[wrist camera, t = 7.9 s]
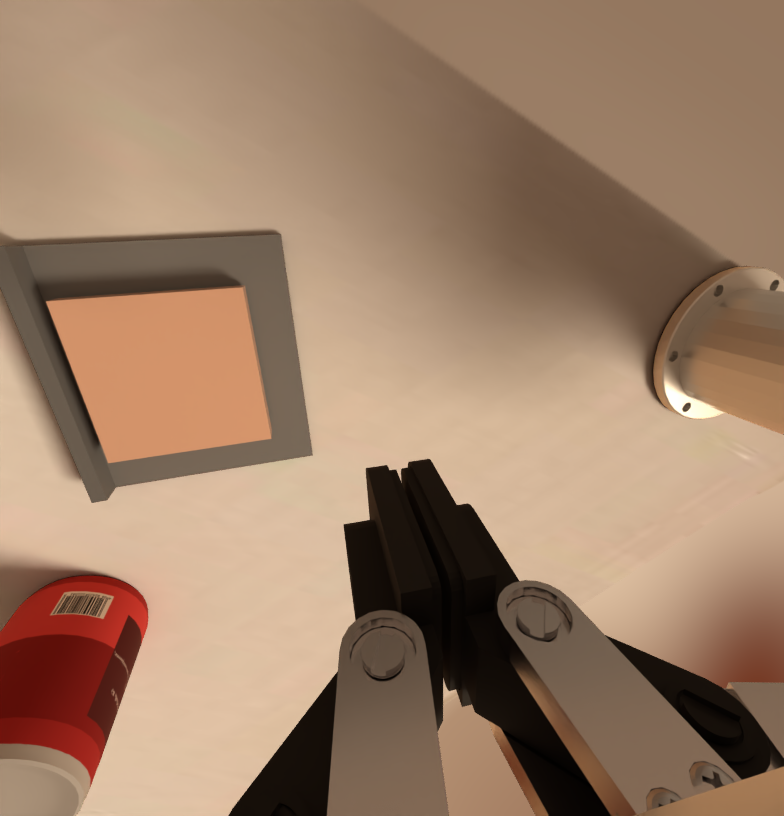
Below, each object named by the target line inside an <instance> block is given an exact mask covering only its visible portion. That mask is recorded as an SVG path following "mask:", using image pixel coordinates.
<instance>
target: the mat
mask: <svg viewBox="0 0 784 816" xmlns="http://www.w3.org/2000/svg"><path fill="white" fill-rule="evenodd" d="M239 285H245V288H246V294H247V299H248V304H249V310H250V315H251V321H252V326H253V331H254V337H255V342H256V347H257V353H258V358H259V363H260V369H261V374H262V379H263V385H264V390H265V395H266V401H267V406H268V411H269V417H270V422H271V427H272V437H271V439H266V440H260V441H253V442H246V443H240V444H233V445H226V446H220V447H213V448H206V449H200V450H193V451H187V452H180V453H173V454H167V455H160V456H153V457H147V458H140V459H133V460H127V461H120V462H113V463H108V461H107V459H106V456H105V453H104V451H103V448H102V446H101V443H100V440H99V438H98V435H97V433H96V430H95V428H94V425H93V422H92V420H91V417H90V415H89V412H88V409H87V407H86V404H85V402H84V399H83V396H82V394H81V391H80V389H79V386H78V384H77V381H76V378H75V376H74V373H73V371H72V368H71V365H70V363H69V360H68V358H67V355H66V352H65V350H64V347H63V345H62V342H61V340H60V337H59V334H58V332H57V329H56V327H55V324H54V321H53V319H52V316H51V314H50V311H49V308H48V306H47V303H46V301H49V300H54V299H58V298H68V297H82V296H96V295H111V294H125V293H139V292H153V291H168V290H182V289H196V288H211V287H225V286H239ZM0 288H1V290H2V293H3V295H4V297H5V300H6V302H7V304H8V307H9V309H10V312H11V314H12V316H13V319H14V321H15V323H16V326H17V328H18V330H19V333H20V335H21V337H22V340H23V342H24V344H25V347H26V349H27V351H28V354H29V356H30V359H31V361H32V363H33V366H34V368H35V370H36V373H37V375H38V377H39V380H40V382H41V384H42V387H43V389H44V391H45V394H46V396H47V398H48V401H49V403H50V406H51V408H52V410H53V413H54V415H55V417H56V420H57V422H58V424H59V427H60V429H61V431H62V434H63V436H64V438H65V441H66V443H67V446H68V448H69V450H70V453H71V455H72V457H73V460H74V462H75V464H76V467H77V469H78V471H79V474H80V476H81V478H82V481H83V483H84V485H85V488H86V490H87V493H88V495H89V497H90V500H91V502H92V503H94V502H100V501H106V500H108V498H109V497H110V495H111V494H112V492H113V491H114V489H115V488H116V487H120V486H127V485H133V484H139V483H145V482H151V481H157V480H164V479H170V478H176V477H182V476H188V475H194V474H201V473H207V472H213V471H219V470H225V469H231V468H238V467H244V466H250V465H256V464H262V463H268V462H275V461H281V460H287V459H293V458H299V457H305V456H311V455H313V454H312V447H311V440H310V433H309V426H308V419H307V413H306V406H305V399H304V392H303V385H302V378H301V371H300V364H299V357H298V351H297V344H296V337H295V330H294V323H293V316H292V309H291V302H290V295H289V289H288V282H287V275H286V268H285V261H284V254H283V247H282V240H281V234H274V235H252V236H230V237H207V238H185V239H163V240H141V241H118V242H96V243H74V244H51V245H29V246H0Z"/></svg>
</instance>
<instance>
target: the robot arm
mask: <svg viewBox="0 0 784 816" xmlns="http://www.w3.org/2000/svg"><path fill="white" fill-rule="evenodd" d="M653 376H654V386H655V389H656V392H657V395H658V397H659V399H660V400H661V402H662V404H663V405H664V406H666V407H667V408H668V409H669V410H670V411H672V412H675V413H677V414H679V415H681V416H684V417H687V418H690V419H705V418H711V417H714V416H717V415H719V414H722V413H728V414H730V415H733V416H736V417H738V418H741V419H743V420H746V421H749V422H751V423H754V424H757V425H759V426H762V427H764V428H767V429H770V430H772V431H775V432H778V433H780V434H783V435H784V280H783V279H782V277H780V276H779V275H778V274H777V273H775V272H774V271H772V270H769V269H766V268H764V267H750V266H744V267H734V268H731V269H728V270H725V271H722V272H720V273H718V274H716V275H714V276H712V277H710V278H709V279H707V280H706V281H705V282H703V283H702V284H701V285H699V286H698V287H697V288H696V289H695V290H694V291H693V292H692V293H691V294H690V295H689V296H688V297H687V298H686V299H685V300H684V301H683V302H682V303H681V305H680V306H679V307H678V308H677V310H676V311H675V312H674V314H673V315H672V317H671V319H670V320H669V322H668V324H667V326H666V327H665V329H664V331H663V334H662V336H661V339H660V341H659V343H658V347H657V351H656V355H655V359H654V369H653ZM366 479H367V491H368V503H369V514H370V520H367V521H362V522H356V523H350V524H344V532H345V541H346V549H347V557H348V565H349V573H350V581H351V589H352V596H353V604H354V611H355V619H356V621H355V622H354V623H353V624H352V625H351V626H350V627H349V628H348V630H347V631H346V633H345V635H344V636H343V638H342V642H341V647H340V651H339V664H338V672H337V673H336V674H335V676H334V677H333V678H332V680H331V681H330V682H329V683H328V685H327V686H326V687H325V689H324V690H323V691H322V693H321V694H320V695H319V697H318V698H317V699H316V700H315V702H314V703H313V704H312V706H311V707H310V708H309V710H308V711H307V712H306V714H305V715H304V716H303V717H302V719H301V720H300V721H299V723H298V724H297V725H296V727H295V728H294V729H293V730H292V732H291V733H290V734H289V736H288V737H287V738H286V740H285V741H284V742H283V744H282V745H281V746H280V747H279V749H278V750H277V751H276V753H275V754H274V755H273V757H272V758H271V759H270V761H269V762H268V763H267V764H266V766H265V767H264V768H263V770H262V771H261V772H260V774H259V775H258V776H257V778H256V779H255V780H254V781H253V783H252V784H251V785H250V787H249V788H248V789H247V791H246V792H245V793H244V795H243V796H242V797H241V798H240V800H239V801H238V802H237V804H236V805H235V806H234V808H233V809H232V811H231V812H230V814H229V816H449V812H448V804H447V797H446V790H445V783H444V776H443V768H442V760H441V753H440V746H439V738H438V730H439V728H440V725H441V723H442V721H443V678H444V681H445V684H446V687H447V689H448V690H449V691H451V690H455V689H456V690H457V693H458V696H459V699H460V702H461V705H462V707H463V706H467V705H471V704H472V705H473V708H474V710H475V712H476V713H477V714H479V715H480V716H482V717H484V718H485V719H487V720H488V721H489V724H490V727H491V730H492V732H493V735H494V737H495V739H496V741H497V743H498V745H499V747H500V749H501V751H502V753H503V755H504V756H505V758H506V760H507V762H508V764H509V766H510V768H511V770H512V772H513V774H514V775H515V777H516V779H517V781H518V783H519V785H520V787H521V789H522V791H523V793H524V795H525V796H526V798H527V800H528V802H529V804H530V806H531V808H532V810H533V812H534V814H535V816H784V683H752V682H751V683H750V682H729V683H728V686H727V688H726V689H724V688H722V687H720V686H718V685H716V684H714V683H712V682H711V681H709V680H707V679H705V678H703V677H700V676H698V675H696V674H693V673H691V672H689V671H687V670H684V669H682V668H680V667H677V666H675V665H672V664H670V663H668V662H666V661H664V660H661V659H659V658H657V657H654V656H652V655H650V654H647V653H645V652H643V651H640V650H638V649H636V648H633V647H631V646H629V645H626V644H624V643H622V642H620V641H617V640H615V639H612V638H610V637H608V636H606V635H604V634H603V633H602V632H601V631H600V630H599V629H598V628H597V627H596V625H595V624H594V623H593V622H592V621H591V620H590V619H589V618H588V617H587V616H586V615H585V614H584V613H583V612H582V611H581V610H580V609H579V607H578V606H577V605H576V604H575V603H574V602H573V601H572V600H571V599H570V598H569V597H567V596H566V595H565V594H564V593H563V592H561V591H560V590H558V589H556V588H554V587H552V586H551V585H549V584H545V583H542V582H538V581H528V580H524V581H519V580H518V578H517V577H516V575H515V573H514V572H513V570H512V569H511V567H510V565H509V564H508V562H507V561H506V559H505V558H504V556H503V554H502V553H501V551H500V550H499V548H498V547H497V545H496V543H495V542H494V540H493V539H492V537H491V536H490V534H489V532H488V531H487V529H486V528H485V526H484V525H483V523H482V521H481V520H480V518H479V517H478V515H477V513H476V512H475V510H474V509H473V508H472V506H471V505H470V504H462V505H456V503H455V501H454V500H453V498H452V496H451V494H450V493H449V491H448V489H447V487H446V486H445V484H444V482H443V481H442V479H441V477H440V475H439V474H438V472H437V470H436V468H435V467H434V465H433V463H432V462H431V460H430V459H426V460H419V461H412V462H409V463H408V468H403V469H401V480H402V483H401V481H400V478H399V476H398V473H397V471H396V470H389V468H388V466H387V465H385V466H378V467H371V468H366Z"/></svg>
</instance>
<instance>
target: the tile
mask: <svg viewBox="0 0 784 816" xmlns="http://www.w3.org/2000/svg"><path fill="white" fill-rule="evenodd" d="M46 303H47V306H48V308H49V311H50V314H51V316H52V319H53V321H54V324H55V327H56V329H57V332H58V334H59V337H60V340H61V342H62V345H63V347H64V350H65V352H66V355H67V358H68V360H69V363H70V365H71V368H72V371H73V373H74V376H75V378H76V381H77V384H78V386H79V389H80V391H81V394H82V396H83V399H84V402H85V404H86V407H87V409H88V412H89V415H90V417H91V420H92V422H93V425H94V428H95V430H96V433H97V435H98V438H99V440H100V443H101V446H102V448H103V451H104V453H105V456H106V459H107V461H108V463H113V462H120V461H127V460H133V459H140V458H147V457H153V456H160V455H167V454H173V453H180V452H187V451H193V450H200V449H206V448H213V447H220V446H226V445H233V444H240V443H246V442H253V441H260V440H266V439H271V437H272V427H271V422H270V417H269V411H268V406H267V401H266V395H265V390H264V385H263V379H262V374H261V369H260V363H259V358H258V353H257V347H256V342H255V337H254V331H253V326H252V321H251V315H250V310H249V304H248V299H247V294H246V288H245V285H239V286H225V287H211V288H196V289H182V290H168V291H153V292H139V293H125V294H111V295H96V296H82V297H68V298H58V299H54V300H49V301H46Z"/></svg>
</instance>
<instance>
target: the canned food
mask: <svg viewBox="0 0 784 816" xmlns="http://www.w3.org/2000/svg"><path fill="white" fill-rule="evenodd" d="M147 625H148V608H147V603H146V601H145V599H144V598H143V596H142V595H141V594H140V593H139V592H138V591H137V590H136V589H135V588H133V587H132V586H130V585H129V584H127V583H124V582H122V581H120V580H117V579H113V578H109V577H103V576H76V577H69V578H65V579H61V580H58V581H55V582H53V583H51V584H48V585H46V586H45V587H43V588H41V589H40V590H38V591H37V592H36V593H34V594H33V595H32V596H30V597H29V598H28V599H27V600H26V601H25V602H23V603H22V604H21V605H20V606H19V608H18V609H17V610H16V612H15V613H14V614H13V616H12V617H11V618H10V620H9V621H8V623H7V624H6V625H5V627H4V628H3V629H2V631H1V632H0V816H76V815H77V814H78V812H79V811H80V809H81V807H82V804H83V802H84V800H85V798H86V796H87V794H88V791H89V789H90V787H91V784H92V781H93V778H94V775H95V773H96V770H97V767H98V765H99V763H100V760H101V757H102V754H103V751H104V748H105V746H106V743H107V740H108V737H109V734H110V731H111V729H112V726H113V723H114V720H115V717H116V714H117V711H118V709H119V706H120V703H121V700H122V697H123V694H124V692H125V689H126V686H127V683H128V680H129V677H130V675H131V672H132V669H133V666H134V663H135V660H136V657H137V655H138V652H139V649H140V646H141V643H142V640H143V638H144V635H145V632H146V629H147Z"/></svg>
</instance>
